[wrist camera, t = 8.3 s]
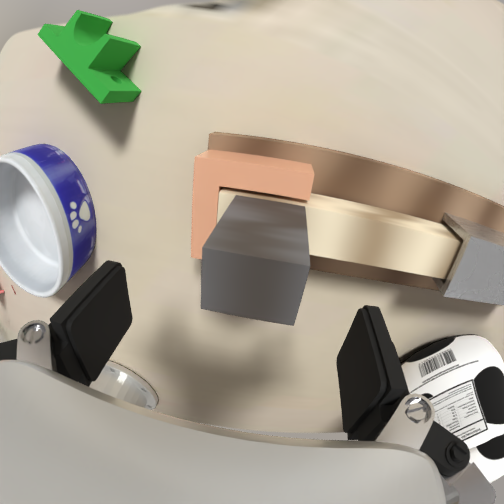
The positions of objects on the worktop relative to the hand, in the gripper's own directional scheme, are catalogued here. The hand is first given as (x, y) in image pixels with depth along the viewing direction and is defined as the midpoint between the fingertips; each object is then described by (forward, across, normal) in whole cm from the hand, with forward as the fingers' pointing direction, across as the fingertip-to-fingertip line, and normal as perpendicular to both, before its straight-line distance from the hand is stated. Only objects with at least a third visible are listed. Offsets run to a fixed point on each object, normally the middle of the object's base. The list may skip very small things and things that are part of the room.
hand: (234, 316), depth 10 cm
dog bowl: (+13, +23, +3) cm, 27 cm away
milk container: (+12, -25, +16) cm, 32 cm away
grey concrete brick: (+10, -21, -1) cm, 23 cm away
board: (+12, -13, -1) cm, 17 cm away
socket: (+11, +1, -1) cm, 11 cm away
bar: (+10, -8, -1) cm, 13 cm away
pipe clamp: (+12, +14, -13) cm, 23 cm away
